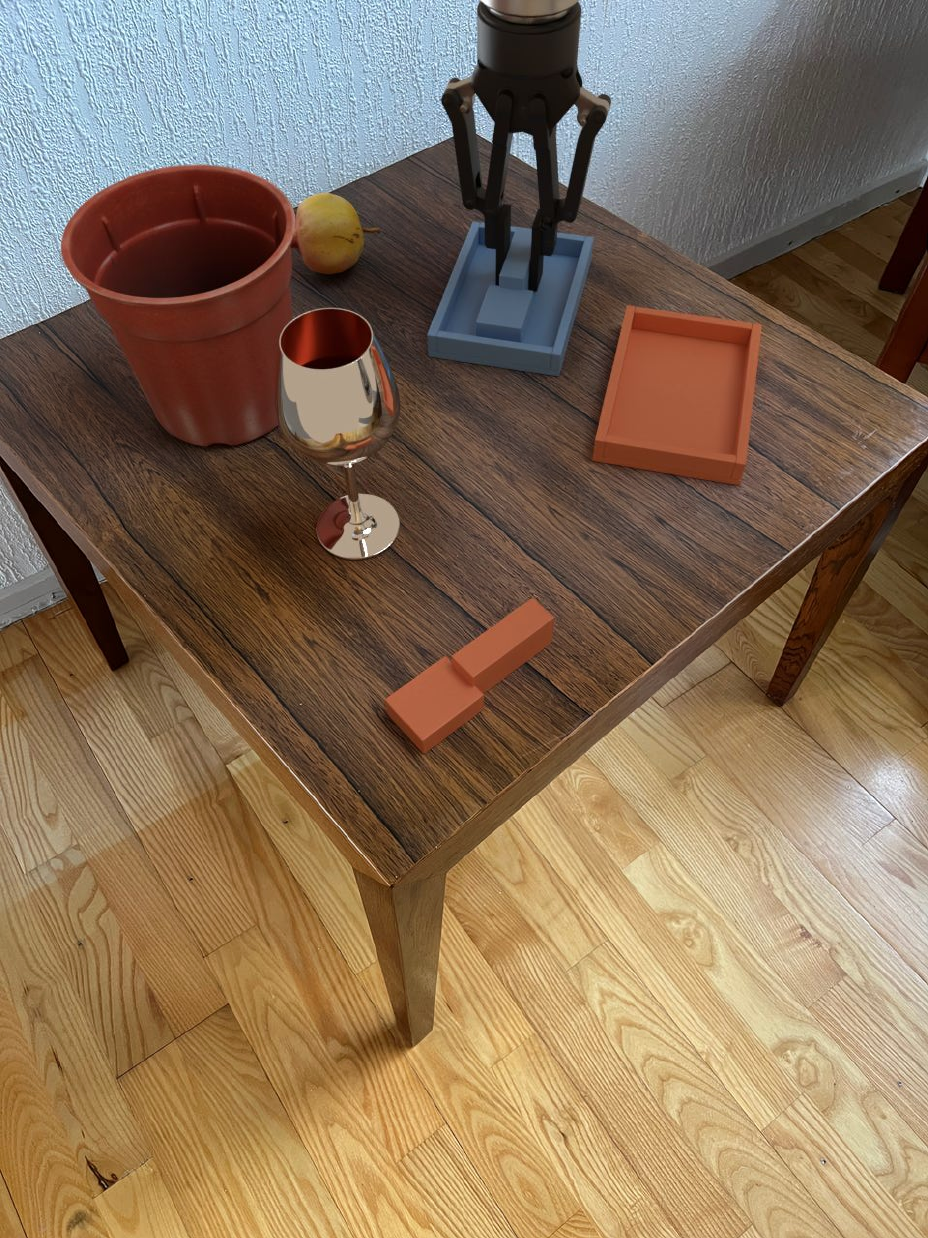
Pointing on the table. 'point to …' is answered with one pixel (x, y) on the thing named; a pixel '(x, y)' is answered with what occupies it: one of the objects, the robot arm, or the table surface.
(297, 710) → the table surface
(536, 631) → the red offset step block
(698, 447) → the red tray
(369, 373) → the wineglass
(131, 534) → the table surface
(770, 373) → the table surface
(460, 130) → the robot arm
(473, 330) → the blue tray
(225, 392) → the flower pot
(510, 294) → the blue stepped block
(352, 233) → the fruit
